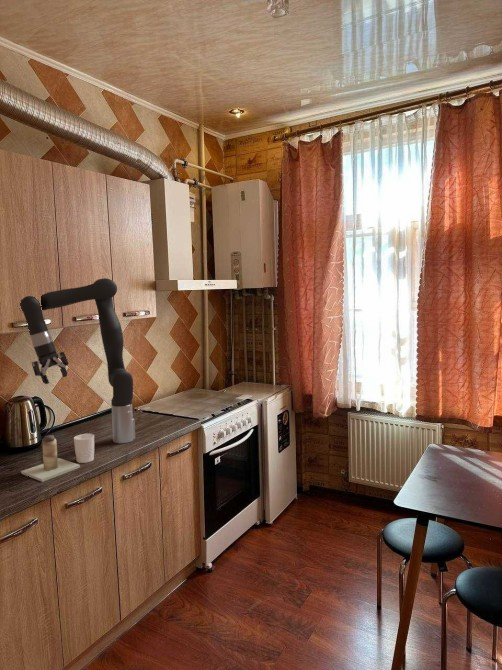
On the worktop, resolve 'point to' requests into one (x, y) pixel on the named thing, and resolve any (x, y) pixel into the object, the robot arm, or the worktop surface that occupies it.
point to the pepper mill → (50, 453)
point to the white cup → (84, 448)
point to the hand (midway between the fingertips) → (56, 380)
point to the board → (44, 475)
